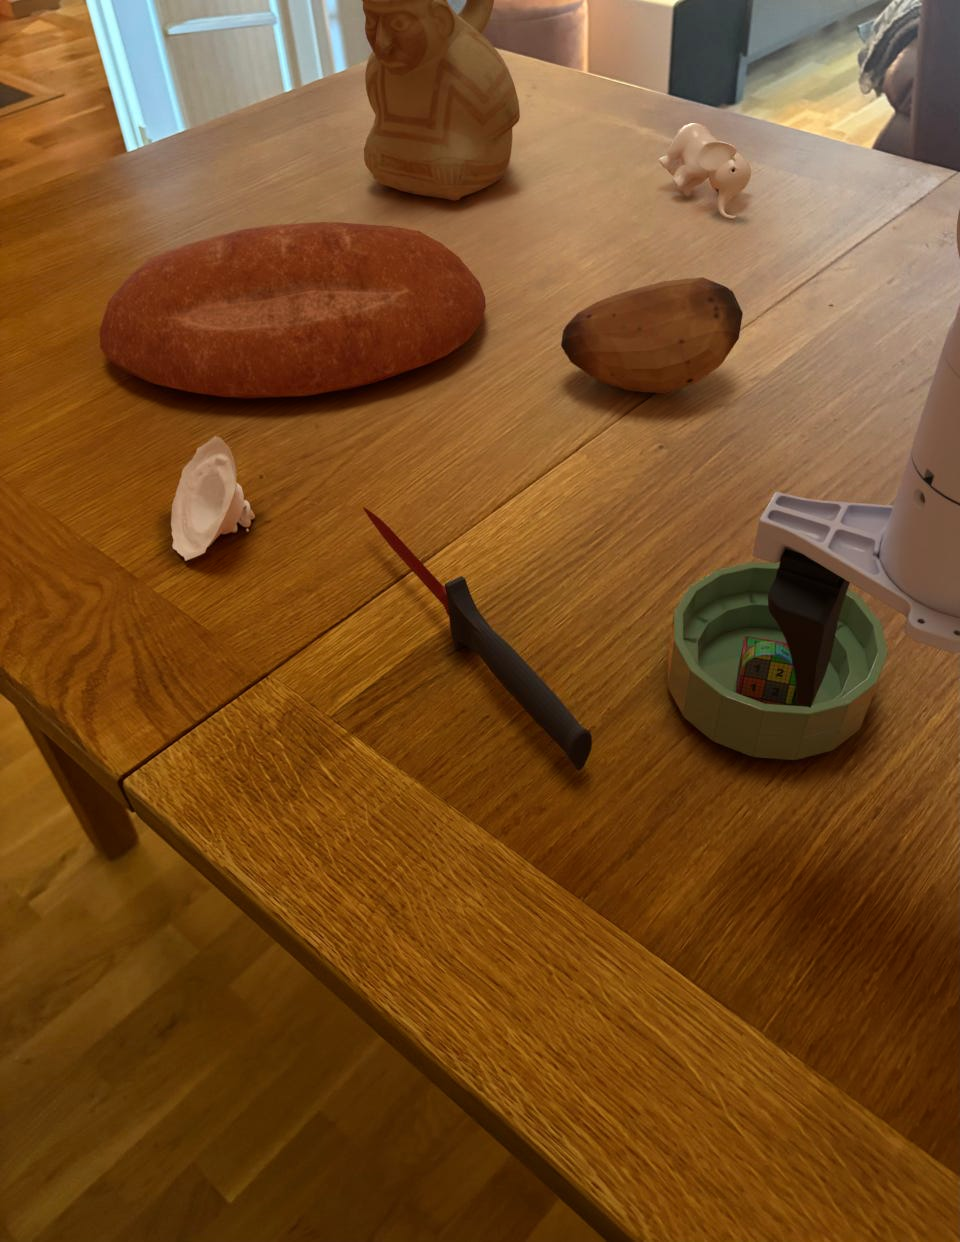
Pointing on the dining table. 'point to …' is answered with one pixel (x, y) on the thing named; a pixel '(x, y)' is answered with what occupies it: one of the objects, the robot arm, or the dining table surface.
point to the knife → (498, 655)
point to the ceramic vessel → (436, 98)
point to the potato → (655, 335)
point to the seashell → (207, 500)
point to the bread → (291, 310)
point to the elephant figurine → (706, 164)
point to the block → (766, 672)
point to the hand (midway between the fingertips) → (898, 721)
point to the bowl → (712, 655)
